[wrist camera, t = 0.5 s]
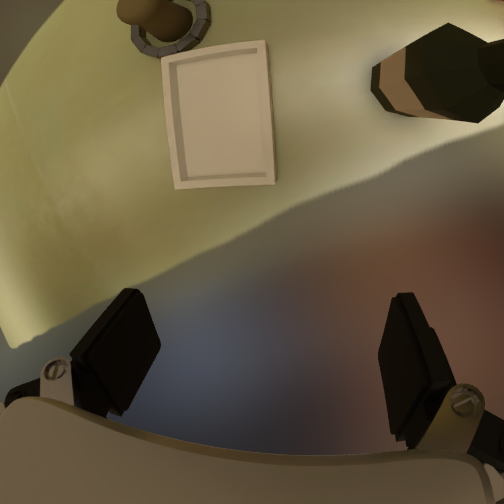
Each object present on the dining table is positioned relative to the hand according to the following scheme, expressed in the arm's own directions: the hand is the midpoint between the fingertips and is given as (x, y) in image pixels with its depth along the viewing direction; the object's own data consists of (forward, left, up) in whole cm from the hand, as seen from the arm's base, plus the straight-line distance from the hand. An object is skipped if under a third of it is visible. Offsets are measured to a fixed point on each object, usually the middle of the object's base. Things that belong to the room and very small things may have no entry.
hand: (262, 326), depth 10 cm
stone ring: (-23, -14, -29) cm, 40 cm away
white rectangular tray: (-8, -8, -29) cm, 31 cm away
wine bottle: (-12, +15, -29) cm, 35 cm away
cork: (-23, -14, -29) cm, 40 cm away
